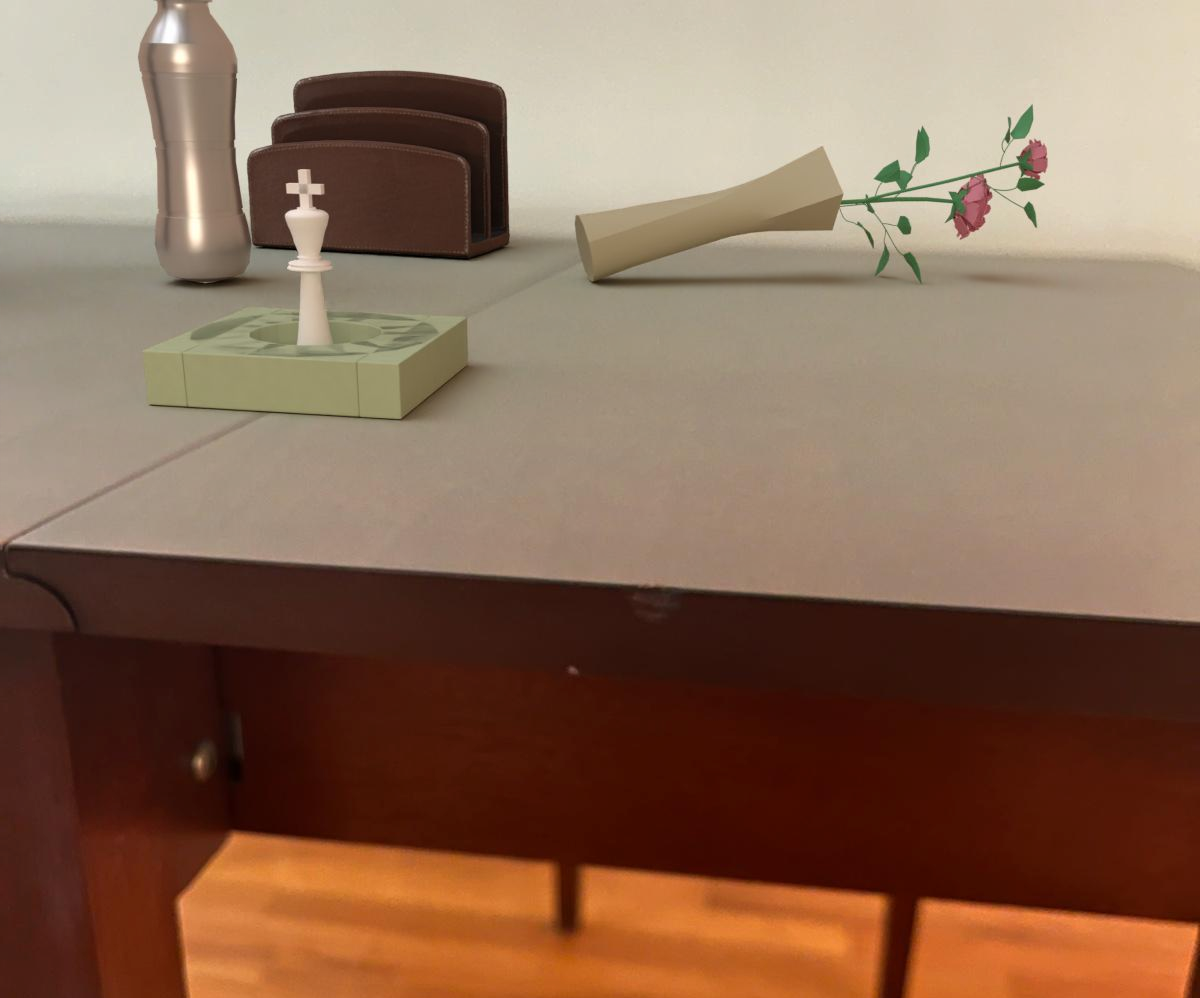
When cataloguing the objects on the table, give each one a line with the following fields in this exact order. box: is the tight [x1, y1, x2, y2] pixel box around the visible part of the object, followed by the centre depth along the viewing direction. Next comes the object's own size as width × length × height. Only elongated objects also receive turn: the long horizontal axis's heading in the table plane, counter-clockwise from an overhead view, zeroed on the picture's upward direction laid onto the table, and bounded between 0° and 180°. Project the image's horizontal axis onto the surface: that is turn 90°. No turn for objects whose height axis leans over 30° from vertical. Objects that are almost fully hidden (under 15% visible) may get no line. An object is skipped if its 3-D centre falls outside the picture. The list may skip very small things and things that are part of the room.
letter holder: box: [246, 70, 511, 260], centre depth 111 cm, size 10×20×14 cm, turn 74°
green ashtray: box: [141, 306, 469, 420], centre depth 65 cm, size 12×12×2 cm
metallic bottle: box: [137, 0, 252, 284], centre depth 90 cm, size 6×7×20 cm
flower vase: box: [574, 103, 1049, 285], centre depth 99 cm, size 12×12×35 cm
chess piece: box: [285, 169, 334, 345], centre depth 63 cm, size 5×5×10 cm
